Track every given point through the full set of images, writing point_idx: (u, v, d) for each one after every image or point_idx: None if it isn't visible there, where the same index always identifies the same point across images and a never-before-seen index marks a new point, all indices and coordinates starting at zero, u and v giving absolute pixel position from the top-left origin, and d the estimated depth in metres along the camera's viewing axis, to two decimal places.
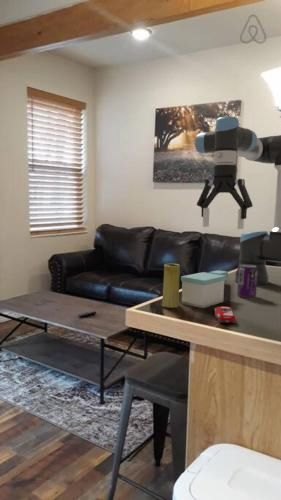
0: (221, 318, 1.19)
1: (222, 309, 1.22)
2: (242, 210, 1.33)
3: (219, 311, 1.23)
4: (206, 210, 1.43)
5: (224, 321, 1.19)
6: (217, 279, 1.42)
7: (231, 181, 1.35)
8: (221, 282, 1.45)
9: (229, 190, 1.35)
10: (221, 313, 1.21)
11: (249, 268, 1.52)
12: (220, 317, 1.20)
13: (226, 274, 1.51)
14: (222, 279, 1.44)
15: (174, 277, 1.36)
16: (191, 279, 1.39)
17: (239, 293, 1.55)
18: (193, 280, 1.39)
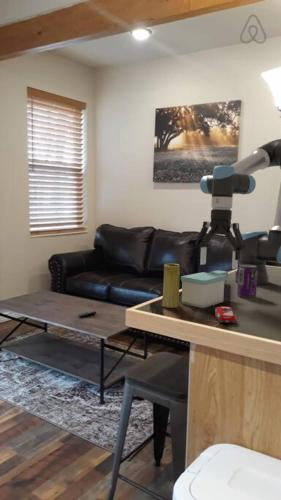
0: (221, 318, 1.19)
1: (222, 309, 1.22)
2: (236, 252, 1.44)
3: (219, 311, 1.23)
4: (203, 249, 1.54)
5: (224, 321, 1.19)
6: (217, 279, 1.42)
7: (226, 225, 1.46)
8: (221, 282, 1.45)
9: (224, 233, 1.46)
10: (221, 313, 1.21)
11: (249, 268, 1.52)
12: (220, 317, 1.20)
13: (226, 274, 1.51)
14: (222, 279, 1.44)
15: (174, 277, 1.36)
16: (191, 279, 1.39)
17: (239, 293, 1.55)
18: (193, 280, 1.39)
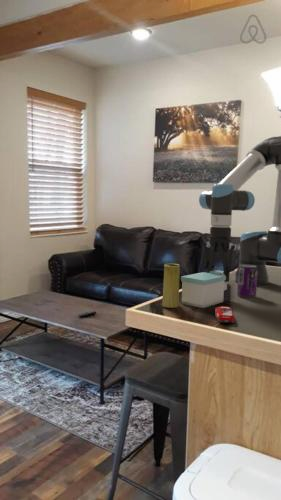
0: (220, 318, 1.20)
1: (221, 309, 1.23)
2: (225, 274, 1.48)
3: (218, 311, 1.23)
4: None
5: (223, 321, 1.19)
6: (217, 279, 1.42)
7: (226, 243, 1.47)
8: (221, 282, 1.45)
9: (221, 252, 1.48)
10: (220, 313, 1.21)
11: (249, 268, 1.52)
12: (219, 317, 1.20)
13: None
14: (222, 279, 1.44)
15: (174, 277, 1.36)
16: (191, 279, 1.39)
17: (239, 293, 1.55)
18: (193, 280, 1.39)
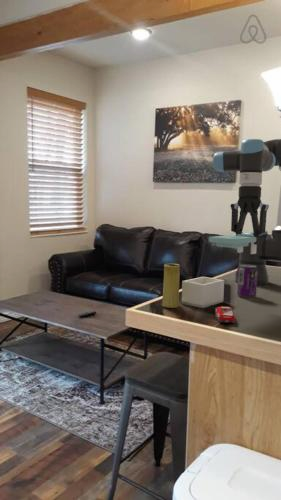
0: (221, 318, 1.20)
1: (222, 309, 1.23)
2: (255, 236, 1.39)
3: (219, 311, 1.23)
4: None
5: (224, 321, 1.19)
6: (248, 240, 1.32)
7: (256, 202, 1.38)
8: (221, 282, 1.45)
9: (251, 212, 1.39)
10: (221, 313, 1.21)
11: (249, 268, 1.52)
12: (220, 317, 1.20)
13: None
14: (253, 240, 1.35)
15: (174, 277, 1.36)
16: (221, 239, 1.30)
17: (239, 293, 1.55)
18: (223, 240, 1.29)
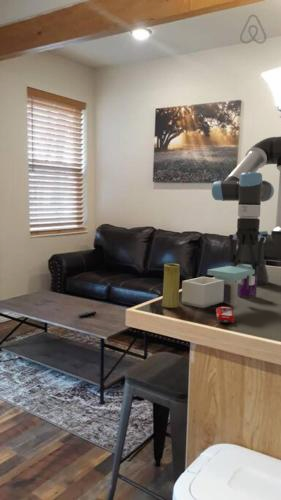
0: (219, 318, 1.20)
1: (222, 309, 1.23)
2: (253, 268, 1.40)
3: (218, 311, 1.23)
4: None
5: (222, 321, 1.19)
6: (246, 273, 1.34)
7: (255, 234, 1.39)
8: (221, 282, 1.45)
9: (249, 244, 1.40)
10: (220, 313, 1.21)
11: None
12: (218, 317, 1.20)
13: None
14: (251, 273, 1.36)
15: (174, 277, 1.36)
16: (219, 272, 1.31)
17: (239, 293, 1.55)
18: (221, 273, 1.30)
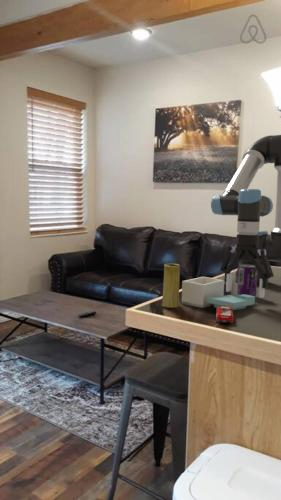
0: (218, 318, 1.20)
1: (221, 309, 1.23)
2: (263, 280, 1.38)
3: (218, 311, 1.23)
4: (229, 276, 1.47)
5: (221, 321, 1.19)
6: (245, 303, 1.35)
7: (254, 250, 1.40)
8: (221, 282, 1.45)
9: (251, 259, 1.40)
10: (219, 313, 1.21)
11: (249, 268, 1.52)
12: (217, 317, 1.20)
13: (253, 299, 1.44)
14: (250, 303, 1.37)
15: (174, 277, 1.36)
16: (218, 301, 1.32)
17: (239, 293, 1.55)
18: (221, 302, 1.32)
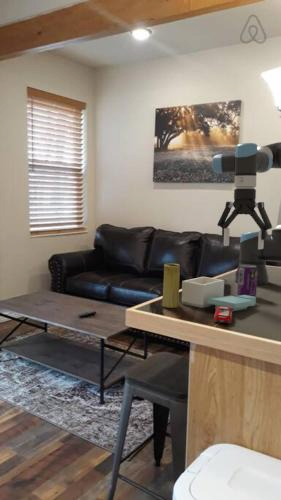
0: (216, 317, 1.20)
1: (219, 309, 1.23)
2: (262, 231, 1.41)
3: (216, 311, 1.23)
4: (227, 230, 1.51)
5: (219, 321, 1.19)
6: (247, 303, 1.34)
7: (251, 204, 1.42)
8: (221, 282, 1.45)
9: (249, 212, 1.43)
10: (217, 313, 1.21)
11: (249, 268, 1.52)
12: (215, 316, 1.20)
13: (254, 299, 1.43)
14: (251, 304, 1.36)
15: (174, 277, 1.36)
16: (220, 301, 1.31)
17: (239, 293, 1.55)
18: (222, 303, 1.31)
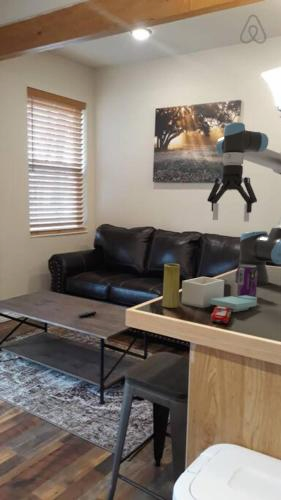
0: (212, 317, 1.20)
1: (217, 309, 1.23)
2: (248, 205, 1.51)
3: (214, 310, 1.23)
4: (216, 205, 1.61)
5: (215, 320, 1.20)
6: (248, 304, 1.33)
7: (238, 179, 1.53)
8: (221, 282, 1.45)
9: (236, 187, 1.53)
10: (214, 312, 1.21)
11: (249, 268, 1.52)
12: (212, 316, 1.21)
13: (255, 300, 1.43)
14: (253, 304, 1.36)
15: (174, 277, 1.36)
16: (221, 302, 1.30)
17: (239, 293, 1.55)
18: (224, 303, 1.30)
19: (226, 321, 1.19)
